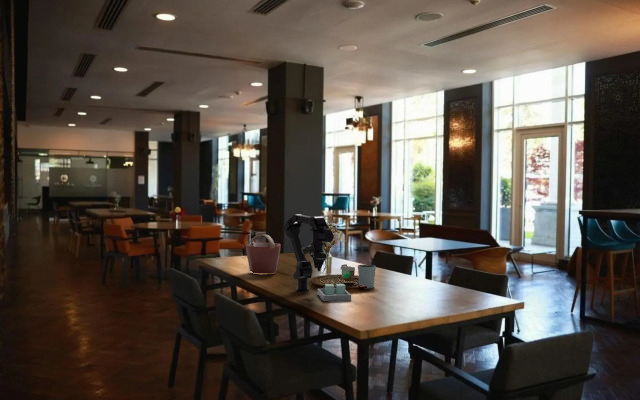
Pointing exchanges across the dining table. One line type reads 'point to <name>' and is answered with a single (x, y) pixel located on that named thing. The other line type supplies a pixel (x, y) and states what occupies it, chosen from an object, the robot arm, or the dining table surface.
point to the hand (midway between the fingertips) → (317, 269)
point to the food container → (347, 272)
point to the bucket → (263, 255)
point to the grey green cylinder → (366, 275)
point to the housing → (335, 294)
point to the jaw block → (329, 289)
